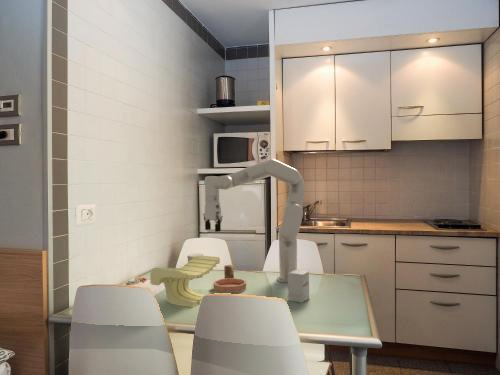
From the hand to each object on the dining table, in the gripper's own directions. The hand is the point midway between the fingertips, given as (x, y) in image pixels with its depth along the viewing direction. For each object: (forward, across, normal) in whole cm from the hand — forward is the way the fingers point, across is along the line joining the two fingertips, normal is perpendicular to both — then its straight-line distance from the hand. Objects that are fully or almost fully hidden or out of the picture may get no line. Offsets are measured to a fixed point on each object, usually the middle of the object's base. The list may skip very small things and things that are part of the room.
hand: (212, 230), depth 217 cm
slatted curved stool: (+28, -21, +28) cm, 45 cm away
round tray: (+27, -19, +3) cm, 34 cm away
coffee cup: (+28, +16, +2) cm, 32 cm away
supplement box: (+28, -54, -11) cm, 61 cm away
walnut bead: (+27, -6, -6) cm, 29 cm away
